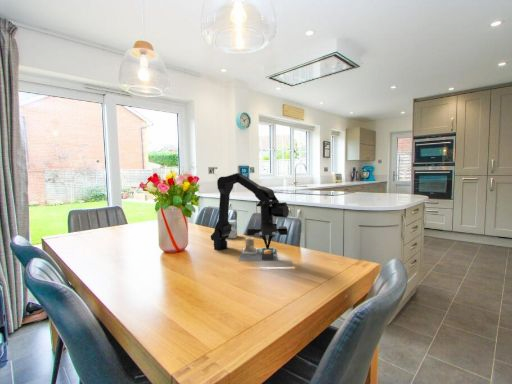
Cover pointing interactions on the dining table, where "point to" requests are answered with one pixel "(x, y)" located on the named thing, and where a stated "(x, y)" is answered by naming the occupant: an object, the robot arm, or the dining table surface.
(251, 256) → the grey shape sorting board
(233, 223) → the light bulb box
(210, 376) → the dining table surface
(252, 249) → the block
